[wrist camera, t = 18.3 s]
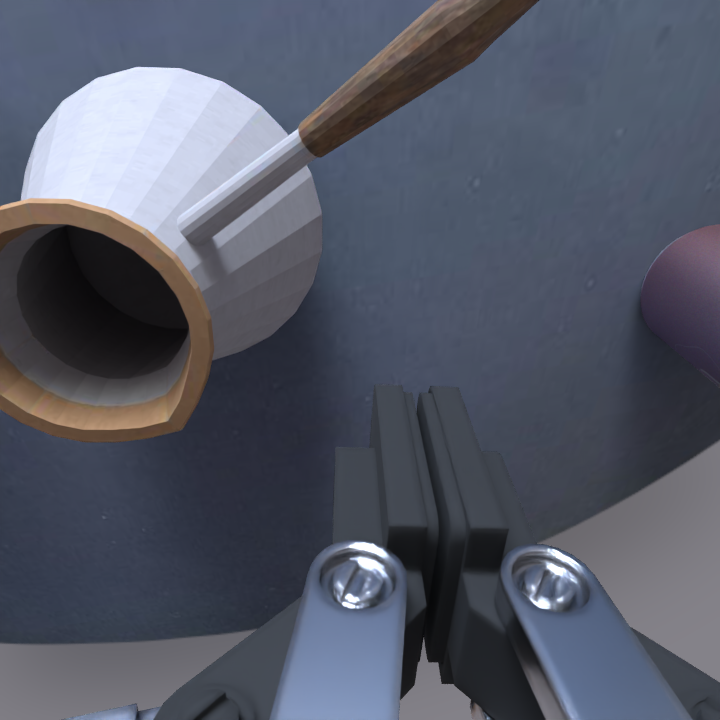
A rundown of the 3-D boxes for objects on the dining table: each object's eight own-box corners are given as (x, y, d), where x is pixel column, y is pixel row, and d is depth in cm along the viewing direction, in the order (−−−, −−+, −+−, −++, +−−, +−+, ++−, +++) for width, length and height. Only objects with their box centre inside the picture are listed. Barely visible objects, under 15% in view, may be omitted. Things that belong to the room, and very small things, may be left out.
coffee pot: (189, 372, 29) (64, 638, 15) (-1, 184, 24) (-413, 329, 11) (568, 100, 24) (874, 145, 10) (417, -205, 19) (613, -839, 6)
